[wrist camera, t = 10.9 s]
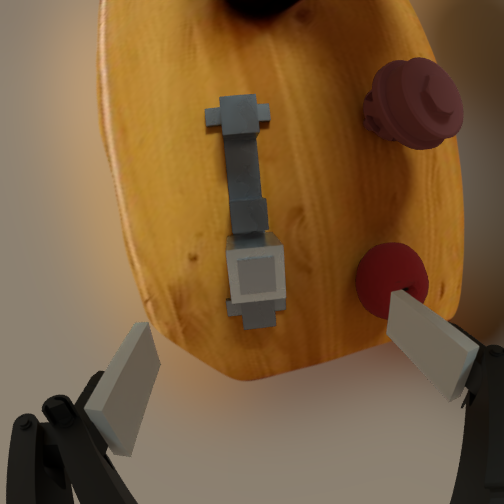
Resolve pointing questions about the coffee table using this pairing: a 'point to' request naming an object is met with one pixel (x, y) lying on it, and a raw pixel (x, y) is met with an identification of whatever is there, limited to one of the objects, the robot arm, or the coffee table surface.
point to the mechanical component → (413, 104)
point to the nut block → (255, 267)
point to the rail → (245, 188)
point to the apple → (390, 277)
